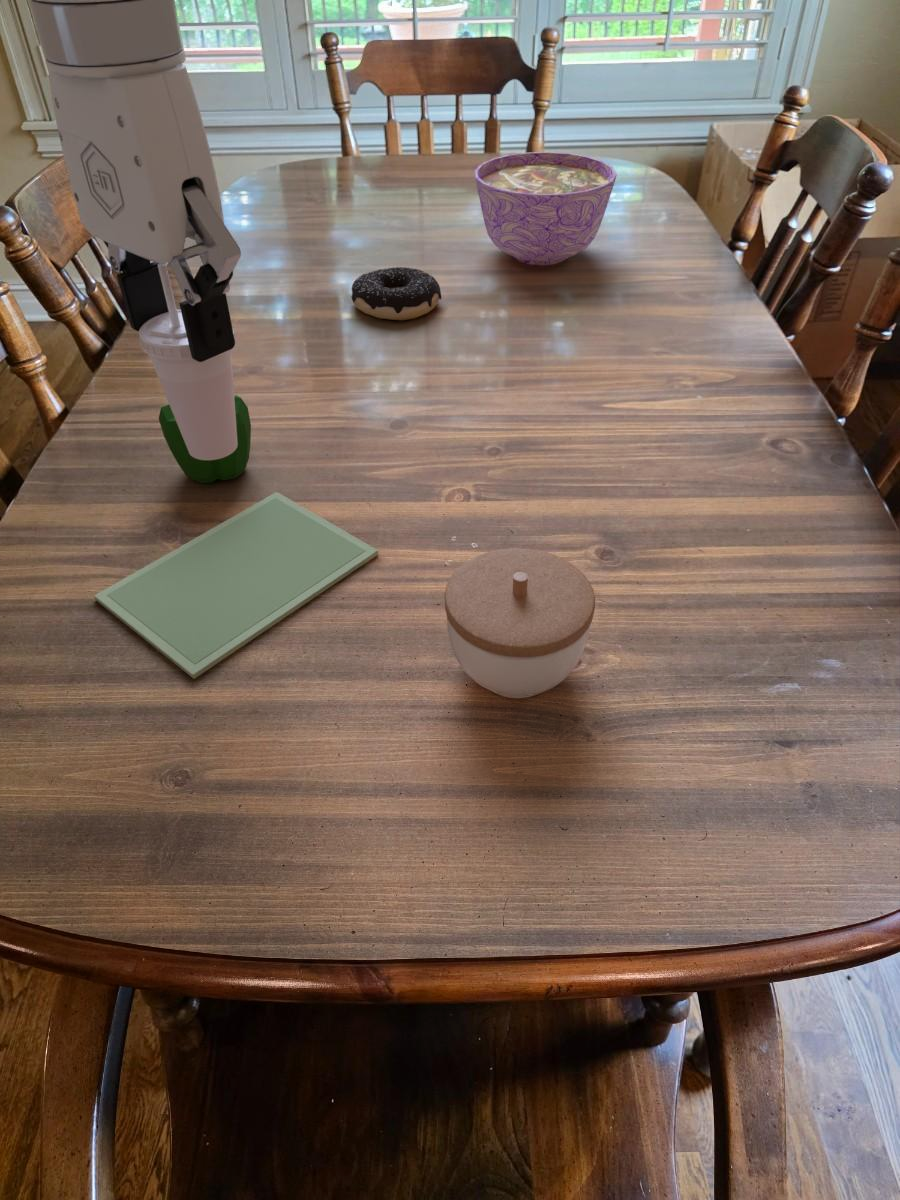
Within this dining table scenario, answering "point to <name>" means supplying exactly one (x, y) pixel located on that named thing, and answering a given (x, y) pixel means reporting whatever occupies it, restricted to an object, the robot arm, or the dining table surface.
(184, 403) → the smoothie
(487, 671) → the trinket box
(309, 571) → the placemat
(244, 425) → the bell pepper
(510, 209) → the bowl of food
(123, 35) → the robot arm
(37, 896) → the dining table surface
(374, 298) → the donut
